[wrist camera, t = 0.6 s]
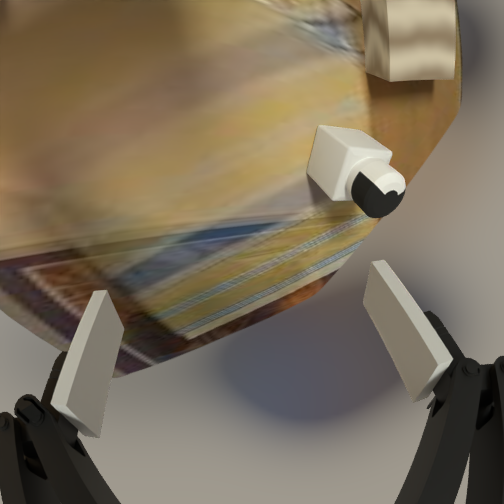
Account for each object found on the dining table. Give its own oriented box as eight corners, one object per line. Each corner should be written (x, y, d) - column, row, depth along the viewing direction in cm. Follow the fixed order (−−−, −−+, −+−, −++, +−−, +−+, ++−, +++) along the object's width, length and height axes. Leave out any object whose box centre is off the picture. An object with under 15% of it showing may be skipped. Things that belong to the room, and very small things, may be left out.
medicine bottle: (346, 173, 41) (398, 223, 33) (305, 172, 38) (354, 228, 30) (360, 129, 36) (421, 173, 28) (317, 123, 34) (377, 169, 26)
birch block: (355, -21, 21) (383, -22, 17) (426, -9, 22) (454, -4, 19) (364, 71, 30) (389, 81, 27) (428, 68, 31) (453, 79, 28)
